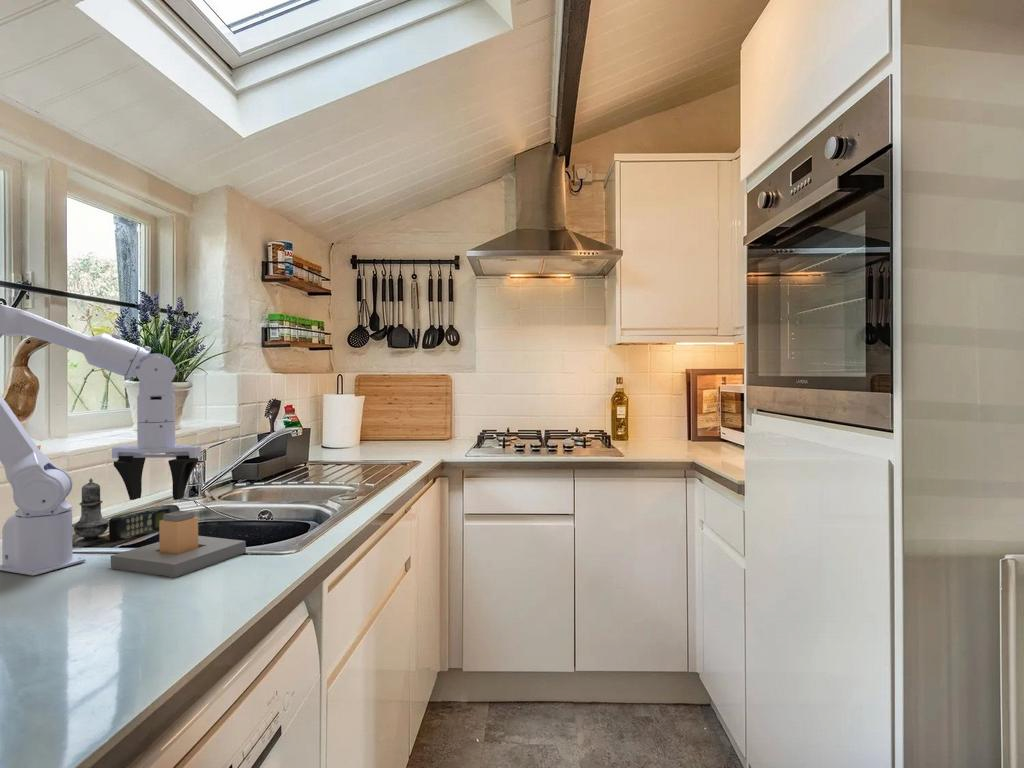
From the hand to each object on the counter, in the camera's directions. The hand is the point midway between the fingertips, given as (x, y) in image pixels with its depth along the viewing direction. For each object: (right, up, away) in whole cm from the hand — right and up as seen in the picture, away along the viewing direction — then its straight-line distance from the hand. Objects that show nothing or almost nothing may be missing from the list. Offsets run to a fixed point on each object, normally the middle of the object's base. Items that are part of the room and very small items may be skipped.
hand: (156, 498), depth 102 cm
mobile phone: (-10, -10, +14) cm, 20 cm away
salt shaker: (-17, -10, +7) cm, 21 cm away
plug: (+7, -9, -5) cm, 13 cm away
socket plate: (+7, -9, -5) cm, 12 cm away
